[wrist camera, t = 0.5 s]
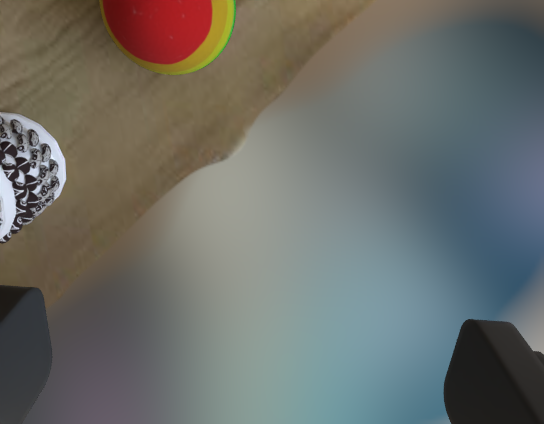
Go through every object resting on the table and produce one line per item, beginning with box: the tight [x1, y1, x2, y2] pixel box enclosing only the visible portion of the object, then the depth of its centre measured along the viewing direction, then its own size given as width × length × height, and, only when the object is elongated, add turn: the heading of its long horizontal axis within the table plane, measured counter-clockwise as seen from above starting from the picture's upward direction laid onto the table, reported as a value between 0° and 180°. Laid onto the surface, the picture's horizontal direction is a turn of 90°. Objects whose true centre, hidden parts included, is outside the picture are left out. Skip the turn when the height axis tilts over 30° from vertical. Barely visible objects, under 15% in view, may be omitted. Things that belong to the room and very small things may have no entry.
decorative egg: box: [99, 0, 236, 75], centre depth 28 cm, size 8×8×10 cm
